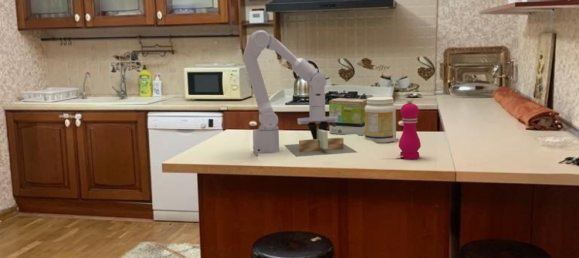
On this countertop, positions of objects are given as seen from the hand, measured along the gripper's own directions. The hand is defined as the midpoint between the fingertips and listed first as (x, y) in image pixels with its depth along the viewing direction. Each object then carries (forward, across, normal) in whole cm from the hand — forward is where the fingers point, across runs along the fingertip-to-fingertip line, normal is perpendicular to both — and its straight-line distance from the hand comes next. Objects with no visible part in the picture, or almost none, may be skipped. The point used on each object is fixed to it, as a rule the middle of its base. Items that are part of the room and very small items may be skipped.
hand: (318, 142), depth 209 cm
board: (+3, 0, +2) cm, 3 cm away
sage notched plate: (+1, 0, +4) cm, 4 cm away
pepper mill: (+3, -26, +23) cm, 35 cm away
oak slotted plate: (+2, 0, +5) cm, 5 cm away
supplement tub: (+3, -28, -11) cm, 30 cm away
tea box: (+3, -22, -33) cm, 40 cm away
